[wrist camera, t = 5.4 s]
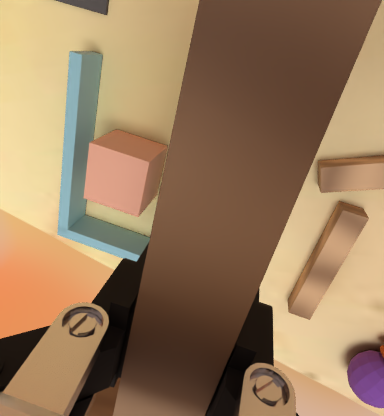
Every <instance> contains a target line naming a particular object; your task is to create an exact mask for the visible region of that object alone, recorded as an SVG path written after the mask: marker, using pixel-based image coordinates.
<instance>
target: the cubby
mask: <svg viewBox="0 0 384 416" xmlns="http://www.w3.org/2000/svg"><path fill="white" fill-rule="evenodd" d="M102 57H103V54H99V53H96V52H93V51H70V54H69V69H68V84H67V99H66V114H65V130H64V145H63V160H62V175H61V190H60V205H59V220H58V235H60V236H62V237H65V238H68V239H71V240H73V241H76V242H79V243H82V244H85V245H87V246H90V247H93V248H96V249H98V250H101V251H104V252H107V253H110V254H112V255H115V256H118V257H121V258H123V259H124V258H127V259H130V260H133V261H136V262H137V260H138V258H139V257H140V255H141V254H142V252H143V251H144V249H145V247H146V246H147V244H148V243H149V240H150V237H147V236H144V235H141V234H139V233H136V232H133V231H130V230H127V229H124V228H121V227H119V226H116V225H113V224H110V223H107V222H104V221H102V220H99V219H96V218H93V217H90V216H87V215H85V211H86V202H87V199H85V198H84V189H85V179H86V170H87V160H88V151H89V142H91V141H93V138H94V129H95V120H96V111H97V102H98V93H99V84H100V75H101V66H102Z"/></svg>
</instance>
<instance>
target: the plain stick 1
mask: <svg viewBox="0 0 384 416" xmlns="http://www.w3.org/2000/svg"><path fill="white" fill-rule="evenodd" d="M318 185H319V188H320V191H321V193H325V192H341V191H358V190H374V189H384V155H382V156H370V157H359V158H347V159H335V160H323V161H318Z"/></svg>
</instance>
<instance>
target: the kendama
mask: <svg viewBox="0 0 384 416" xmlns="http://www.w3.org/2000/svg"><path fill="white" fill-rule="evenodd" d="M380 351H381V352H376V351H372V350H369V351H364V352H361V353H358V354H357V355H356V356H354V357H353V358H352V359H351V361H350V364H349V366H348V370H347V375H348V381H349V385H350V387H351V388H352V390H353V392H354V393H355V394H356V395H357V397H358V398H360V399H361V400H362V401H363V402H365V403H366V404H369V405H371V406H374V407H377V408H384V345H382V346H380Z"/></svg>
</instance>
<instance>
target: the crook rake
mask: <svg viewBox="0 0 384 416" xmlns="http://www.w3.org/2000/svg"><path fill="white" fill-rule="evenodd" d="M381 1H382V0H200V1H199V6H198V11H197V15H196V20H195V25H194V30H193V34H192V39H191V44H190V49H189V54H188V58H187V63H186V68H185V73H184V78H183V82H182V87H181V92H180V97H179V101H178V106H177V111H176V116H175V121H174V125H173V130H172V135H171V140H170V145H169V149H168V154H167V159H166V164H165V168H164V173H163V178H162V183H161V188H160V192H159V197H158V202H157V207H156V212H155V216H154V221H153V226H152V231H151V236H150V240H149V245H148V250H147V255H146V259H145V264H144V269H143V274H142V279H141V283H140V288H139V293H138V298H137V303H136V307H135V312H134V317H133V322H132V326H131V331H130V336H129V341H128V346H127V350H126V355H125V360H124V365H123V370H122V374H121V378H118V380H117V382H116V384H115V386H114V388H113V387H110V386H109V388H107V389H104V390H102V391H100V392H97V395H96V398H95V401H94V403H93V405H92V407H91V410H90V412H89V414H88V416H205V414H206V411H207V408H208V406H209V404H210V401H211V399H212V397H213V394H214V392H215V390H216V387H217V385H218V383H219V380H220V378H221V376H222V373H223V371H224V369H225V366H226V364H227V362H228V359H229V357H230V355H231V352H232V350H233V348H234V345H235V343H236V340H237V338H238V336H239V333H240V331H241V329H242V326H243V324H244V322H245V319H246V317H247V315H248V312H249V310H250V308H251V305H252V303H253V301H254V298H255V296H256V294H257V291H258V289H259V287H260V284H261V282H262V280H263V277H264V275H265V273H266V270H267V268H268V266H269V263H270V261H271V258H272V256H273V254H274V251H275V249H276V247H277V244H278V242H279V240H280V237H281V235H282V233H283V230H284V228H285V226H286V223H287V221H288V219H289V216H290V214H291V212H292V209H293V207H294V205H295V202H296V200H297V198H298V195H299V193H300V191H301V188H302V186H303V183H304V181H305V179H306V176H307V174H308V172H309V169H310V167H311V165H312V162H313V160H314V158H315V155H316V153H317V151H318V148H319V146H320V144H321V141H322V139H323V137H324V134H325V132H326V130H327V127H328V125H329V123H330V120H331V118H332V116H333V113H334V111H335V109H336V106H337V104H338V101H339V99H340V97H341V94H342V92H343V90H344V87H345V85H346V83H347V80H348V78H349V76H350V73H351V71H352V69H353V66H354V64H355V62H356V59H357V57H358V55H359V52H360V50H361V48H362V45H363V43H364V41H365V38H366V36H367V34H368V31H369V29H370V26H371V24H372V22H373V19H374V17H375V15H376V12H377V10H378V8H379V5H380V3H381Z"/></svg>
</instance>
